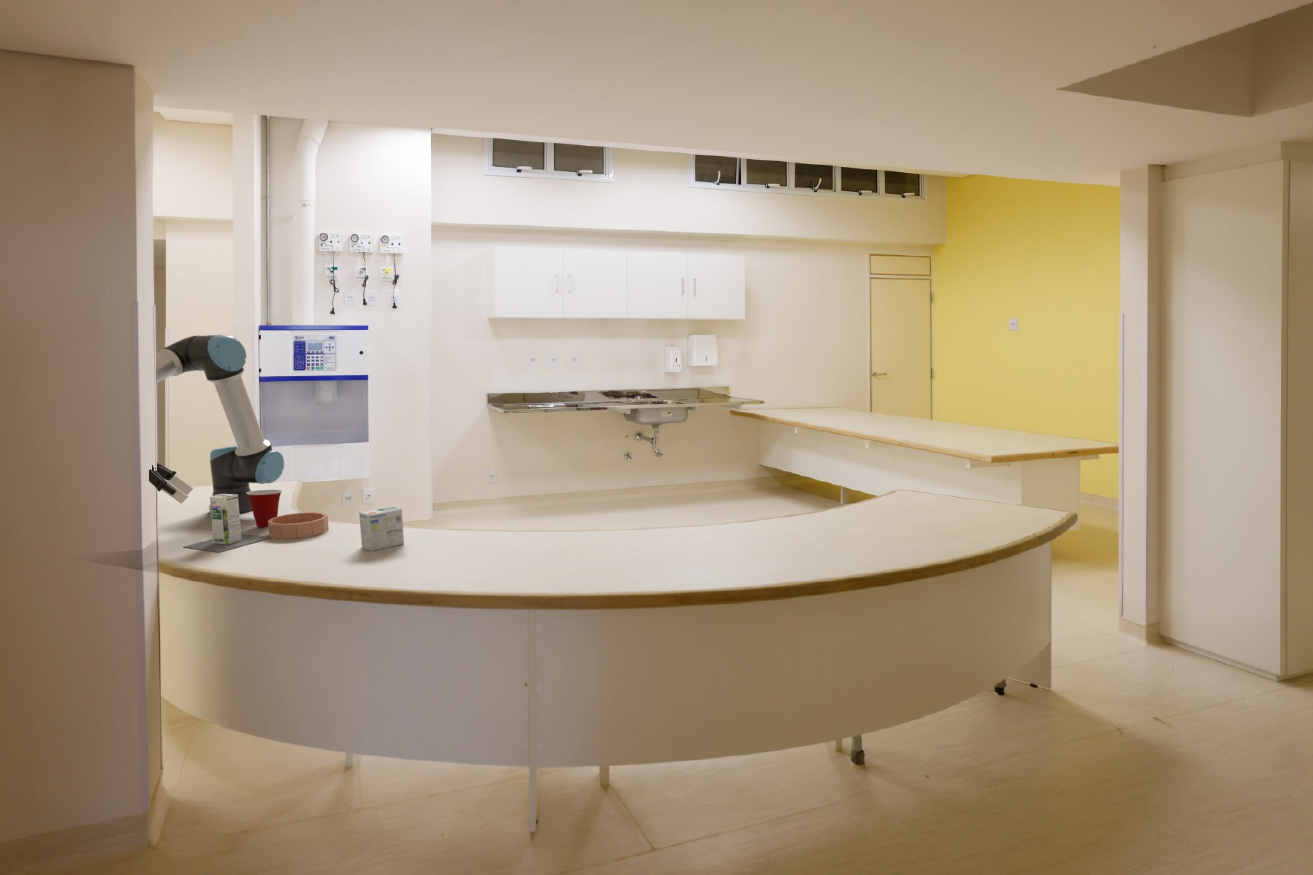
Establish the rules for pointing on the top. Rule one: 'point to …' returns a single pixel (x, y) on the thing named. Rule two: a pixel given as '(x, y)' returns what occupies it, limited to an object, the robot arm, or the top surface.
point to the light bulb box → (381, 528)
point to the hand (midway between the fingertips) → (187, 496)
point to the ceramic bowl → (298, 525)
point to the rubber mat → (216, 547)
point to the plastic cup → (264, 505)
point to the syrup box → (225, 518)
